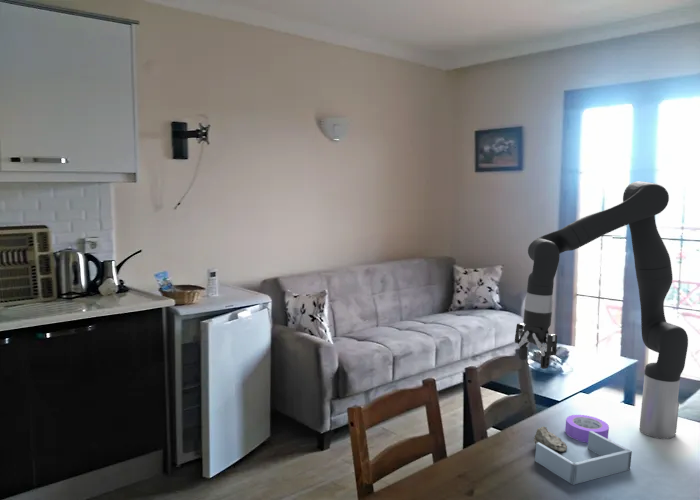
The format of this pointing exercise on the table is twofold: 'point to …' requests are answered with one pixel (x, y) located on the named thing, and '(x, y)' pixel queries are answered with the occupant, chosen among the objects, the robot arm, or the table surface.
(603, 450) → the box
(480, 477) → the table surface
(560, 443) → the rock sample
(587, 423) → the masking tape
